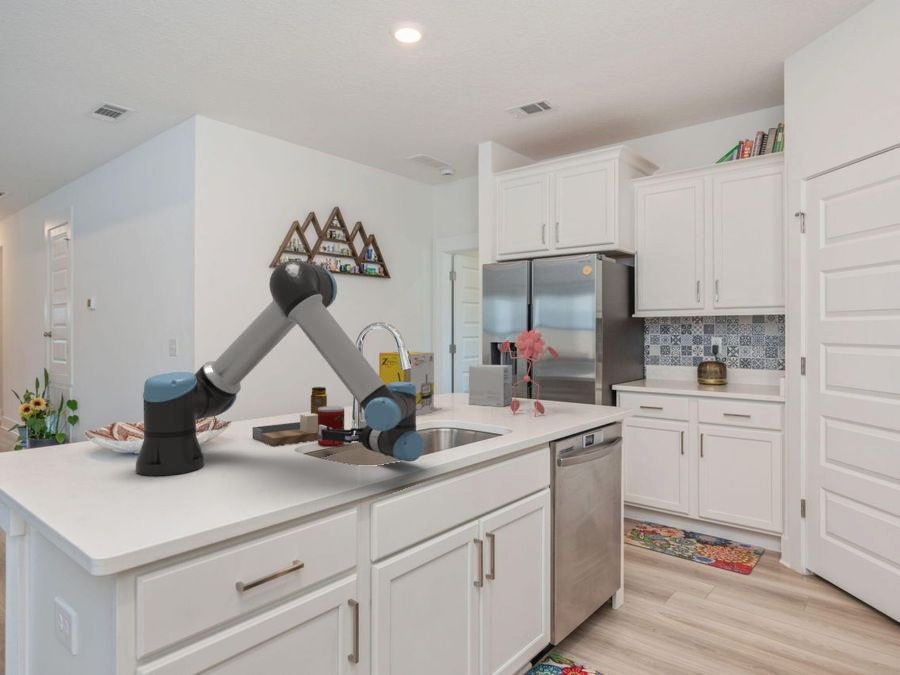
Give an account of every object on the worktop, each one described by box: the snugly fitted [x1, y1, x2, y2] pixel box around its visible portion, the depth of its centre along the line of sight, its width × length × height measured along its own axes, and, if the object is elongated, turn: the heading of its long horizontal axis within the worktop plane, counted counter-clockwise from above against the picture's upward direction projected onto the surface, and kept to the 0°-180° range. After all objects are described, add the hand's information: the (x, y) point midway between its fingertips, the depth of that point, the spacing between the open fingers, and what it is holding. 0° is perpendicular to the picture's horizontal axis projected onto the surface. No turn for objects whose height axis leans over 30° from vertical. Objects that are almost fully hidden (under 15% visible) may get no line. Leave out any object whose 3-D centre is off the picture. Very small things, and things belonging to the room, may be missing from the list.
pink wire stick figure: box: [499, 329, 560, 418], centre depth 232 cm, size 15×26×35 cm, turn 64°
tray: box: [252, 421, 300, 442], centre depth 181 cm, size 20×7×4 cm, turn 130°
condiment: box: [310, 386, 328, 414], centre depth 217 cm, size 7×8×12 cm
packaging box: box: [378, 351, 435, 417], centre depth 233 cm, size 16×16×25 cm
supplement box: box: [468, 364, 513, 407], centre depth 261 cm, size 17×13×18 cm
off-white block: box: [299, 413, 318, 432], centre depth 178 cm, size 4×4×5 cm
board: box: [260, 429, 318, 447], centre depth 175 cm, size 20×9×2 cm, turn 130°
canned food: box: [317, 405, 345, 448], centre depth 169 cm, size 8×8×11 cm
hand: (340, 426), depth 166 cm, fingers open, 13 cm apart
